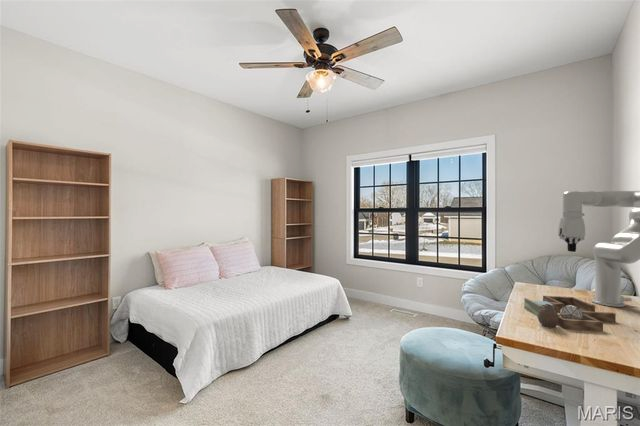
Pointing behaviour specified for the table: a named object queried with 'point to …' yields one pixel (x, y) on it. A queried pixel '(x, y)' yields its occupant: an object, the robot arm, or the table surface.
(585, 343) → the table surface
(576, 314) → the game die
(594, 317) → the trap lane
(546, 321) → the vase
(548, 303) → the slate block
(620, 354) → the table surface
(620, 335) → the table surface
